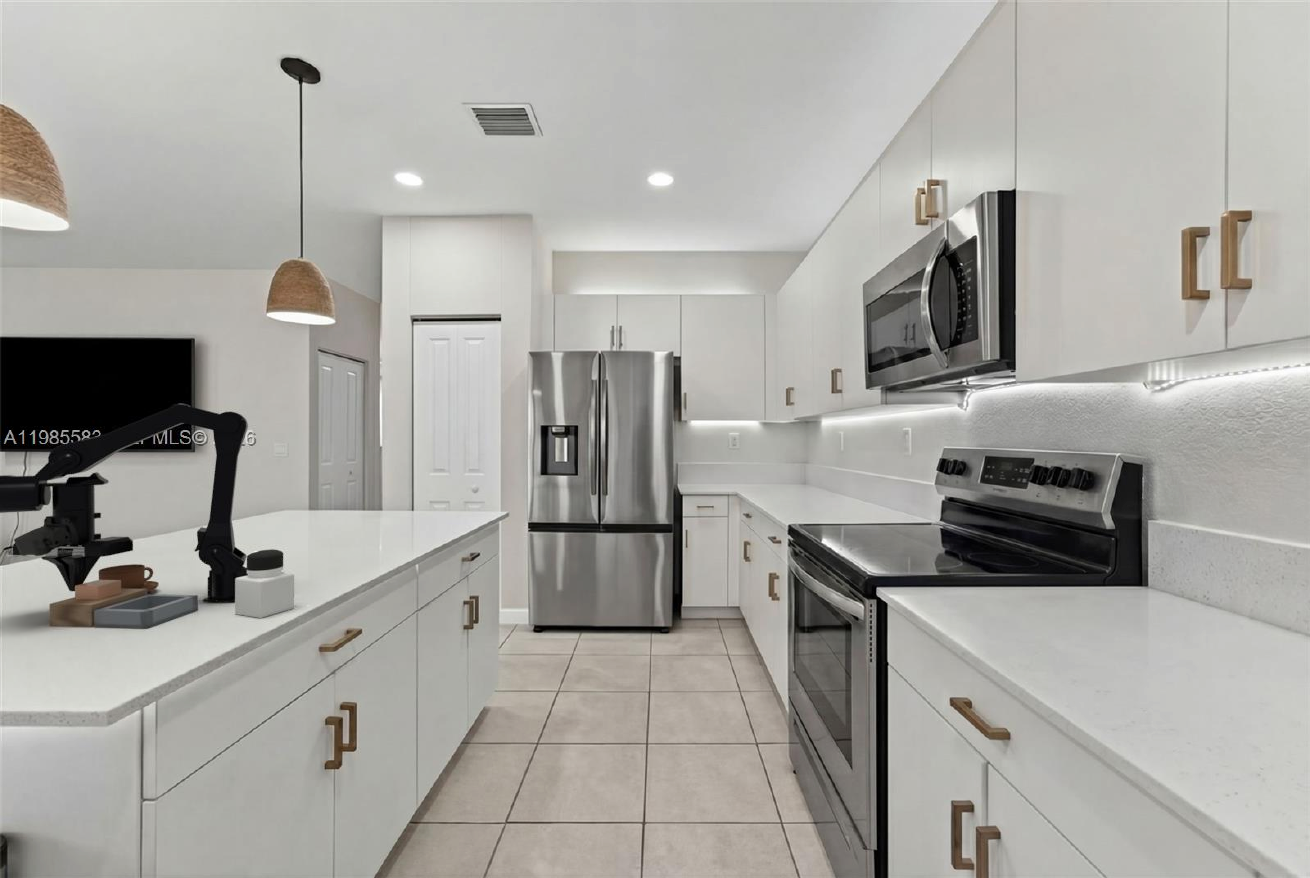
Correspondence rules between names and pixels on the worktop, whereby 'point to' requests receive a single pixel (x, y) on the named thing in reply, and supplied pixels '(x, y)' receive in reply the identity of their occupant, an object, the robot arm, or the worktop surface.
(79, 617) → the tan wooden board
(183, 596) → the box
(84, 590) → the tile
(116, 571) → the cup and saucer
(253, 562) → the medicine bottle
